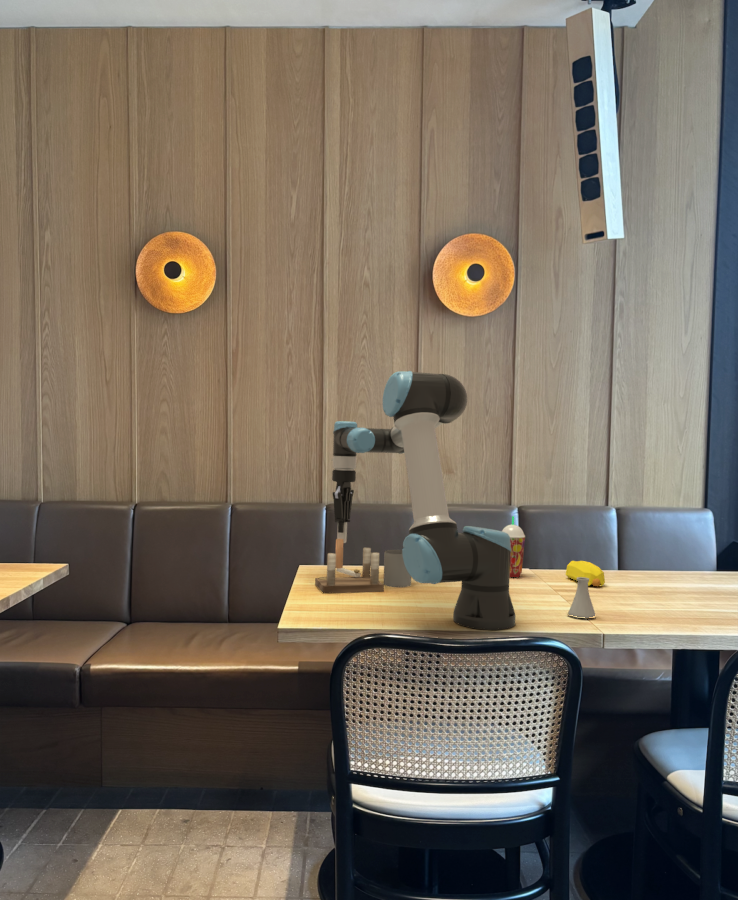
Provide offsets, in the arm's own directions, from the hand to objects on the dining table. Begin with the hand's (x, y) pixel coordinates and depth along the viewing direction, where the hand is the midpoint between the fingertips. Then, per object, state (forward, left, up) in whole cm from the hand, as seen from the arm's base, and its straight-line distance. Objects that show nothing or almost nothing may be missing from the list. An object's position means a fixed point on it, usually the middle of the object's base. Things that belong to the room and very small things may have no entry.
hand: (341, 542), depth 223 cm
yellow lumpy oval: (-20, -76, -11) cm, 80 cm away
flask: (-59, -50, -11) cm, 78 cm away
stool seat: (-18, +2, -11) cm, 21 cm away
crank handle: (-9, 0, -8) cm, 12 cm away
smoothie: (-8, -56, -11) cm, 58 cm away
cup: (-15, -14, -11) cm, 24 cm away
